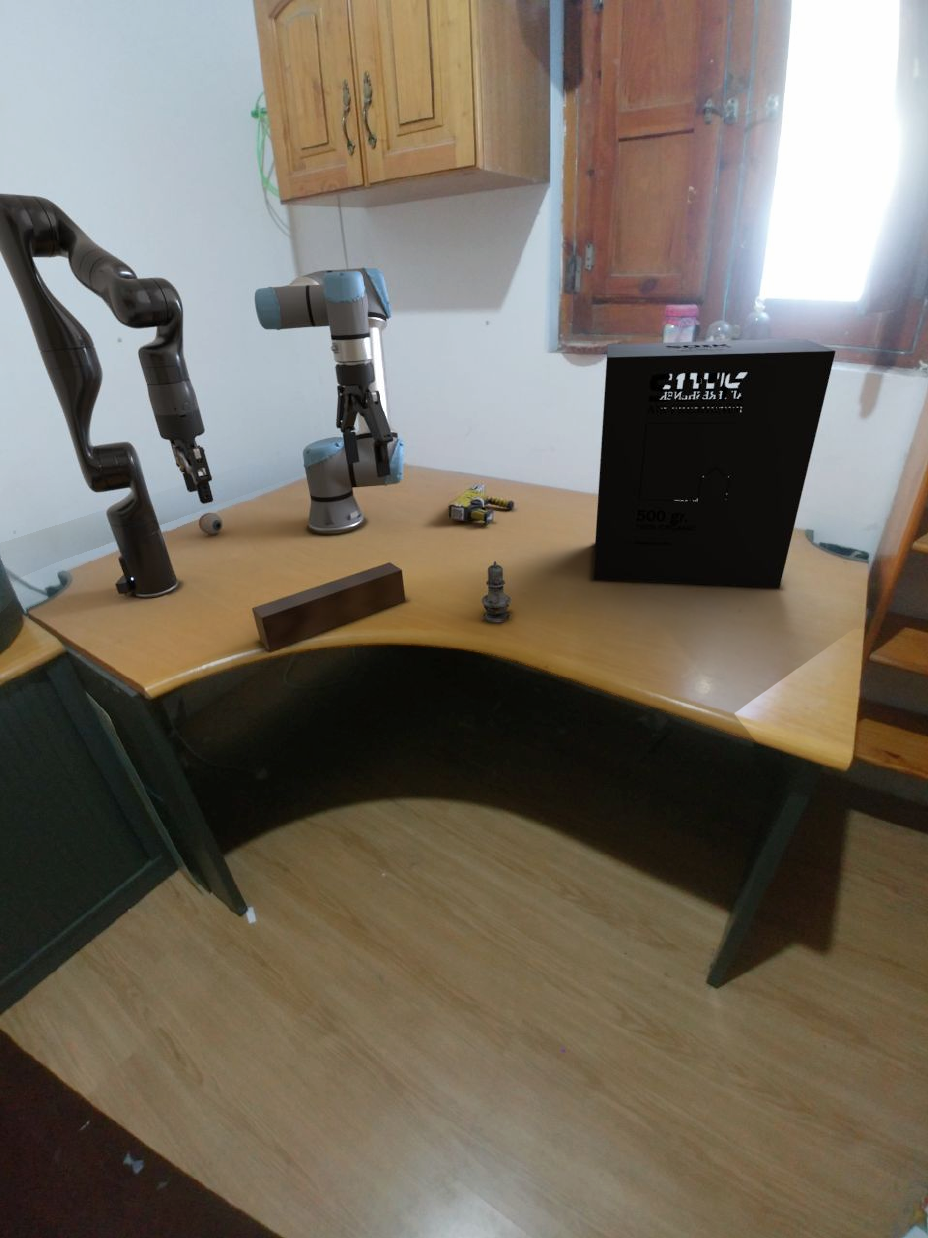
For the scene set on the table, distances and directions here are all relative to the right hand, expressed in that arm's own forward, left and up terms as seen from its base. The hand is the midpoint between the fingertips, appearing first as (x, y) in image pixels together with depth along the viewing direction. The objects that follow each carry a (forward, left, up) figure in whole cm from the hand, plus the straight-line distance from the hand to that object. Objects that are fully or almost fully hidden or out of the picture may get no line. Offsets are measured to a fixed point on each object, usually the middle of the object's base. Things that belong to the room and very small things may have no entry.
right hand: (368, 469), depth 129 cm
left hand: (-4, -34, +1) cm, 34 cm away
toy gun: (-15, +43, -25) cm, 52 cm away
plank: (+14, -18, -25) cm, 33 cm away
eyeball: (-54, -23, -25) cm, 64 cm away
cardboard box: (+43, +53, -25) cm, 72 cm away
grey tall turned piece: (+34, +7, -25) cm, 42 cm away
